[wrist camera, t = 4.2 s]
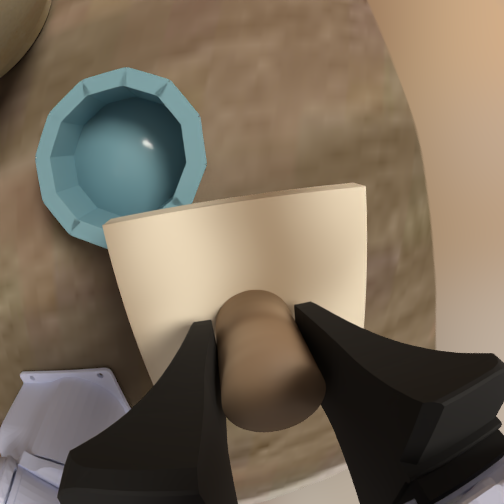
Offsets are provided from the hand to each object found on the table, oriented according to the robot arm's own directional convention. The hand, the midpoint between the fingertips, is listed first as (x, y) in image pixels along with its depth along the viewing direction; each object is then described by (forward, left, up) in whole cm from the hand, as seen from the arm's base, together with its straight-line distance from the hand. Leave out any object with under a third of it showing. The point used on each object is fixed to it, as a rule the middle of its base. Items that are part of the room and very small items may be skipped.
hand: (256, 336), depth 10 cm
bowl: (-5, +7, -9) cm, 13 cm away
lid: (0, 0, -2) cm, 2 cm away
